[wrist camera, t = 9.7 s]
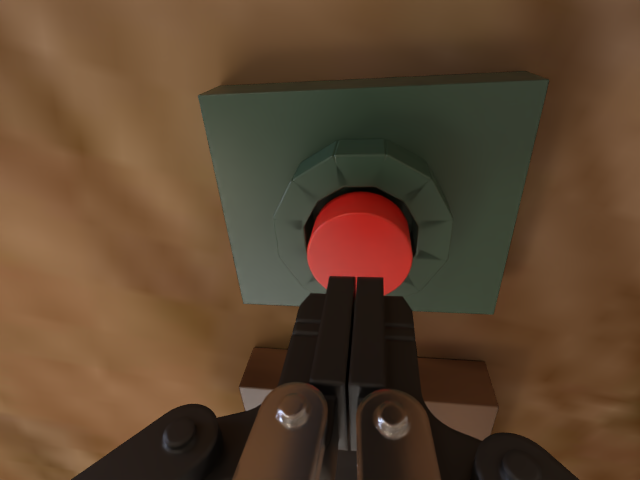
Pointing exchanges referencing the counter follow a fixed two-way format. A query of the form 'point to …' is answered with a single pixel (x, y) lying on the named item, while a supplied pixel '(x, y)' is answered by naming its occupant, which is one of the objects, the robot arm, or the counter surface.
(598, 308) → the counter surface
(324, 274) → the red button
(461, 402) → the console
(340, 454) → the grip knob
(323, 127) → the button block
